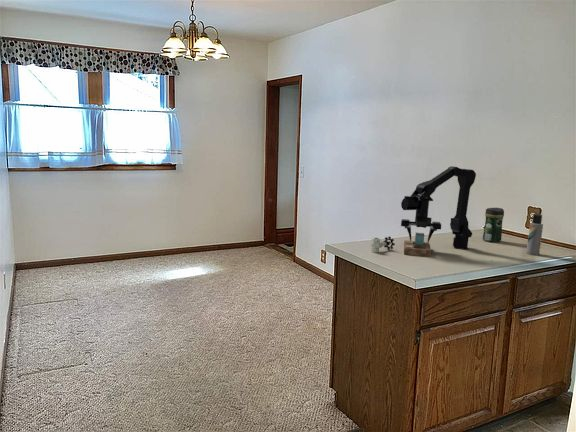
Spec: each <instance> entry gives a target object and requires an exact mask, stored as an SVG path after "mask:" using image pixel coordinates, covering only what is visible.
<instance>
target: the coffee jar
mask: <svg viewBox="0 0 576 432" xmlns="http://www.w3.org/2000/svg"><path fill="white" fill-rule="evenodd" d="M484 216H485V221H484V229H483V234H482V240H483V241H484V242H487V243H488V242H490V243H498V242H501V241H502V237H503V235H502V234H503V221H504V216H505V211H504V209H503V208H501V207H487V208H486V209H485V213H484Z"/></svg>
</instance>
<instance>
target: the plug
mask: <svg viewBox="0 0 576 432" xmlns="http://www.w3.org/2000/svg"><path fill="white" fill-rule="evenodd" d="M414 235H415V236H414V241H415V244H417V245H423V244H424V242H425V233H424V232H415V234H414Z"/></svg>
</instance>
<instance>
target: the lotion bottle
mask: <svg viewBox="0 0 576 432" xmlns="http://www.w3.org/2000/svg"><path fill="white" fill-rule="evenodd" d="M542 221H543V214H541V213H534V214H533V215H532V222H530V224H529V229H528V230H529V231H528V237H527V246H526V254H527V253H528V254H527V255H530V256H539V255H540V251H541V246H542V245H541V244H542V235H543V228H544V224H542Z"/></svg>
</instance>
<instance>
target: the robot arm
mask: <svg viewBox="0 0 576 432" xmlns="http://www.w3.org/2000/svg"><path fill="white" fill-rule="evenodd" d="M453 177H457V183H458V185H459V190H458V197H457V204H456V210H455V211H456V212H455V215H454V216H453V217H451V218H450V224H449V226H450V230H451V232H452V235H454V237H453V238H452V239H453V240H452V247H454V249H462V250H468V249H469V247H468V245H469V238H472V237H473V236H472V235H473V232H472V231H471V229H470V227H469V220H468V217H467V213H468V205H469V201H470V199H469V198H470V194H471V193H470V192H471V188H472V186H473V184H474V183H475V180H476V177H477V173H476V172H475V170H474V169H469V168H467V169H466V168H460V167H458V166H452V165H451V166H448V167H447V168H446V169H445V170H443V171H442V172H441V173H439V174H437V175H436V176H435V177H433V178H432V179H430V180H427V181H423V182H420V183H418V184H417V185H416V187H415V189H414V191H413V192H412V193H411V194H410V195H405V196H404V198H403V199H402V200H401V202H400V205H401V209H402V210H403V211H415V217H414V221H411V220H410V219H408V218H406V219H403V218H402V219H401V222H400V227H404V229H406V230H407V233H408V236H409V241H412V227H411V226H415V227H416V228H425V229H426V228H429V231H428V236H427V242H428V243H430V240H431V237H432V235H433V234H434V232H436V231H437V230H441V229H442V223H441V222H440V221H432V217H428V216H429V208H430V206H429V205H430V202H433V201H434V199H433V198H432V197H431V195H433V194H434V193H435V192H436V189H437V188H438V187H440V186H441V185H443V184H444V183H446V182H447V181H449V180H451V179H452V178H453Z"/></svg>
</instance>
